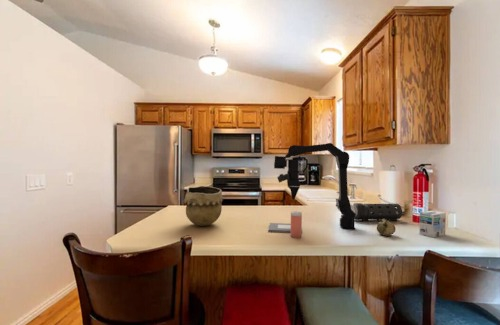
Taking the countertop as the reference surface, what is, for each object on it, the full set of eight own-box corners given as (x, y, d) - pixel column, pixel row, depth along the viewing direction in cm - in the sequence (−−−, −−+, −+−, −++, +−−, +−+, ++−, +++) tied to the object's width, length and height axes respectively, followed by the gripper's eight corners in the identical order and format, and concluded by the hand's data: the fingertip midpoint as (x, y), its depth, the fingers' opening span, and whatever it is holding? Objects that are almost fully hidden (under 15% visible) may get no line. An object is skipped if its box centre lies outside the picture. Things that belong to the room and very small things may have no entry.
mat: (299, 225, 141) (299, 223, 141) (301, 233, 128) (301, 231, 128) (269, 224, 143) (269, 222, 143) (268, 231, 130) (268, 229, 130)
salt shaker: (301, 235, 125) (301, 211, 125) (301, 238, 120) (302, 213, 120) (290, 234, 125) (290, 211, 125) (290, 237, 120) (290, 213, 120)
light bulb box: (433, 237, 123) (433, 214, 123) (418, 234, 129) (418, 211, 129) (446, 235, 128) (446, 212, 128) (431, 231, 134) (431, 210, 133)
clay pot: (231, 227, 138) (231, 188, 137) (192, 233, 126) (192, 191, 125) (213, 219, 155) (213, 184, 155) (177, 223, 143) (177, 186, 143)
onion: (396, 238, 121) (397, 220, 121) (377, 236, 124) (377, 219, 124) (394, 234, 128) (394, 217, 128) (375, 232, 131) (376, 216, 131)
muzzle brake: (402, 222, 153) (402, 204, 152) (355, 222, 150) (355, 204, 150) (392, 218, 162) (392, 201, 162) (347, 219, 160) (348, 201, 160)
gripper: (278, 168, 152) (278, 195, 152) (277, 169, 134) (277, 200, 134) (298, 168, 151) (297, 195, 151) (300, 169, 132) (299, 201, 133)
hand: (292, 198), depth 142 cm, fingers open, 9 cm apart
